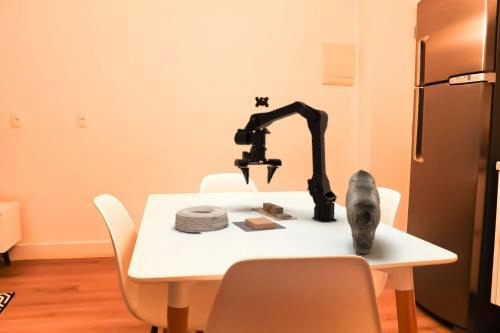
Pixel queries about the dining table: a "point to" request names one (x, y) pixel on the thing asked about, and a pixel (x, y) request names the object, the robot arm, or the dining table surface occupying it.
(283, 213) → the board
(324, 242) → the dining table surface
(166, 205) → the dining table surface
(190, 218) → the cable
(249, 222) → the tile
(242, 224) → the mat
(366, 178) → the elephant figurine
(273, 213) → the brown wooden plank
